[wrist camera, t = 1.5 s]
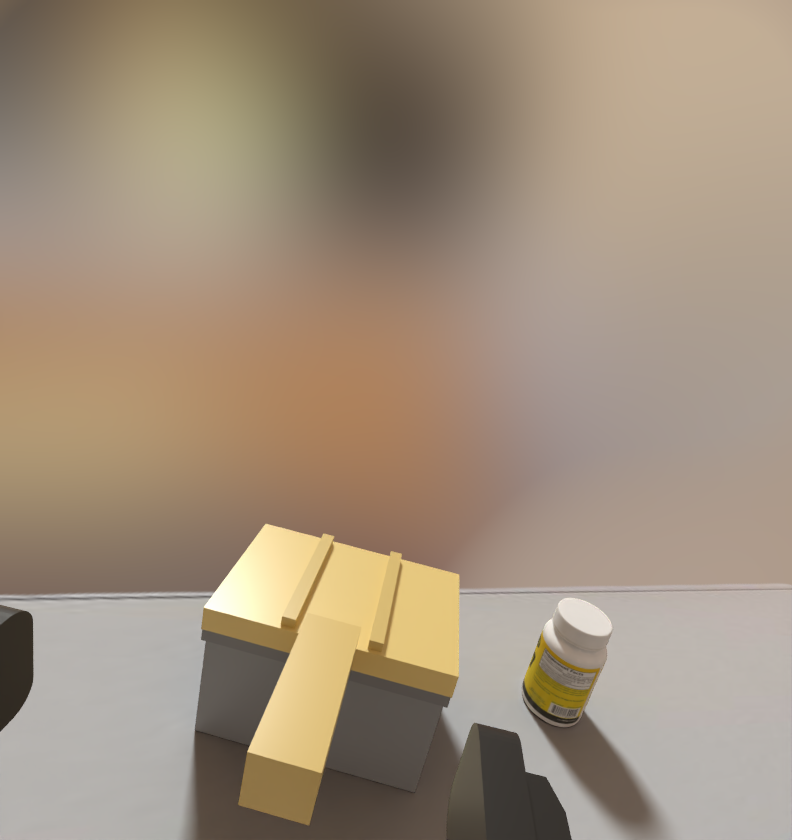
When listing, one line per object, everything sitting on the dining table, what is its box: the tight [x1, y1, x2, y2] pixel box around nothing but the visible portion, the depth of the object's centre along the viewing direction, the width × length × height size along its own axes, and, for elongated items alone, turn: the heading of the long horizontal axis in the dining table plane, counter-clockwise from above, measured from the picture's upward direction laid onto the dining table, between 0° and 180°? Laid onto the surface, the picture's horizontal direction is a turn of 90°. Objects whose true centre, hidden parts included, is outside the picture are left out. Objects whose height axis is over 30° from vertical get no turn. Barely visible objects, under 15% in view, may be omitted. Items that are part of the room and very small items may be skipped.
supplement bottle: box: [522, 598, 613, 727], centre depth 39 cm, size 5×5×8 cm
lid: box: [201, 524, 459, 826], centre depth 29 cm, size 14×18×3 cm
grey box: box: [195, 629, 451, 793], centre depth 34 cm, size 14×9×8 cm, turn 83°
